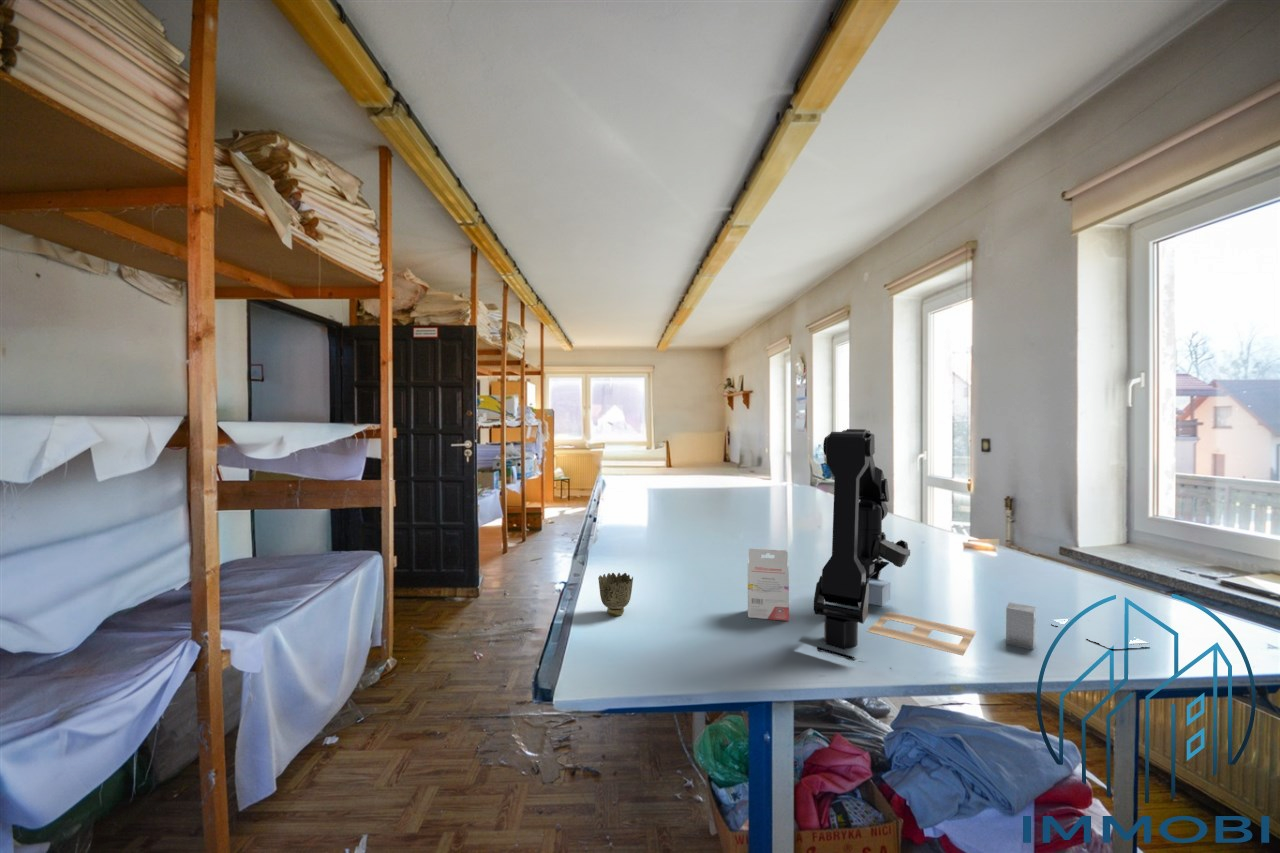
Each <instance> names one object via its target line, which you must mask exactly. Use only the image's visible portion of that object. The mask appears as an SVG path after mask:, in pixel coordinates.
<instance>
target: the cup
mask: <svg viewBox="0 0 1280 853" xmlns="http://www.w3.org/2000/svg"><path fill="white" fill-rule="evenodd" d="M633 582H634V576H632V577H631V578H630V574H627V573H626V572H624V573H623V574H621V572H618V573H617V574H615V573H614V572H612V573H610V572H608V573H607V576H606V574H605V573H603V575H600V574H599V577H598V586H599V587H598V588H599V595H600V596H599V597H600V600H601V602H602V605H604V607H606V608H607V610H606V612H607V614H608V615H609V616H612V617H619V616H621V615H623V614H624V612H625V609H624V608H625V607H626V606H628V605H629V604H630V601H631V597H632V590H633Z"/></svg>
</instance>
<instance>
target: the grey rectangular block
mask: <svg viewBox="0 0 1280 853" xmlns="http://www.w3.org/2000/svg"><path fill="white" fill-rule="evenodd" d="M1005 614H1006V615H1005V618H1006V620H1005V622H1006V623H1005V625H1006V626H1005V644H1006V645H1011V646H1014V647H1020V648H1024V649H1028V650H1032V651H1033V650H1034V649H1035V645H1036V606H1032V605H1028V604H1027V605H1026V604H1025V605H1024V604H1021V603H1015V602H1008V603H1007V605H1006V610H1005Z"/></svg>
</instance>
